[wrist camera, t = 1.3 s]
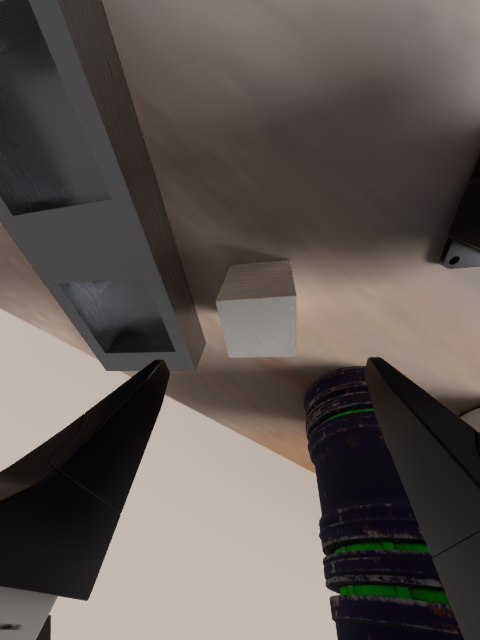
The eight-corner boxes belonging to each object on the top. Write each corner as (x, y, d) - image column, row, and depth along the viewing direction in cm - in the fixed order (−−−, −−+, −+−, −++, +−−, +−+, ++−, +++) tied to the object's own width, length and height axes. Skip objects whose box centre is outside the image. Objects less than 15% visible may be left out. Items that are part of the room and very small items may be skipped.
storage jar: (299, 423, 25) (324, 662, 13) (305, 364, 20) (357, 683, 8) (393, 429, 24) (521, 706, 12) (428, 366, 18) (747, 775, 6)
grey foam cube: (289, 259, 14) (296, 295, 10) (290, 310, 17) (296, 356, 13) (230, 264, 15) (215, 300, 11) (239, 312, 17) (228, 357, 13)
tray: (86, -49, 8) (2, -145, 6) (205, 343, 20) (195, 370, 17) (-65, 13, 10) (-186, -41, 7) (126, 345, 21) (106, 370, 18)
